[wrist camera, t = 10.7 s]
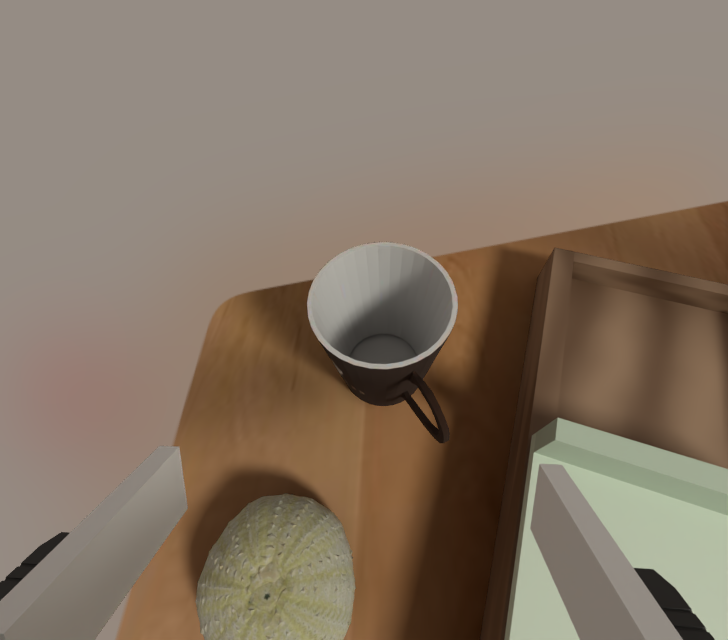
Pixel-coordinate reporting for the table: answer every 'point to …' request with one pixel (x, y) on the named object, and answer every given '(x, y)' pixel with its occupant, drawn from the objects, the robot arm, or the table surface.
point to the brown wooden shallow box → (614, 376)
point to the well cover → (628, 525)
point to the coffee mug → (385, 322)
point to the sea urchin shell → (278, 574)
